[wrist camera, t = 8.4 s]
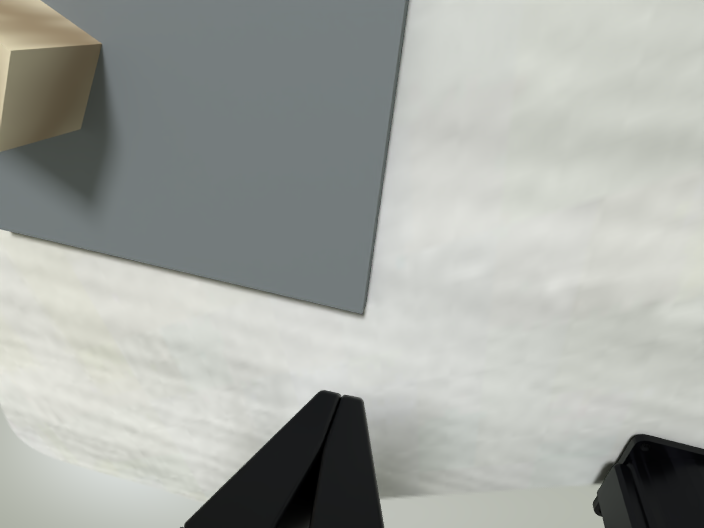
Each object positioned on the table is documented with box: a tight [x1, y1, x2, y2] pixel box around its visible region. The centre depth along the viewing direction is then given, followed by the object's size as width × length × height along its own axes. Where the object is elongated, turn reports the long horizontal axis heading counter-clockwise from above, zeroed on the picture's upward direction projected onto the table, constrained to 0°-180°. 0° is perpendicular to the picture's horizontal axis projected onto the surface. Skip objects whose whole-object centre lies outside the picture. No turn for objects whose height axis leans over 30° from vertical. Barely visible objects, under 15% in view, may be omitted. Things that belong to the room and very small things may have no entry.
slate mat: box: [0, 0, 409, 314], centre depth 21 cm, size 22×16×1 cm
